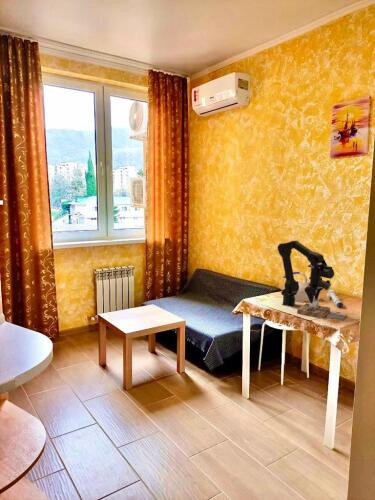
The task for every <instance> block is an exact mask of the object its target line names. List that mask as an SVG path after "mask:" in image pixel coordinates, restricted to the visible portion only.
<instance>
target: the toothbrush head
mask: <svg viewBox="0 0 375 500" xmlns="http://www.w3.org/2000/svg"><path fill="white" fill-rule="evenodd" d="M327 291H328V292H327V293H326V299H328V300H332V301H333V303H334V305H335V306H336V307H337V309H342V308H343V307H344V304H343V301H342V300H341V299H340V298H339V297H338V296H337V294H336V293H335V291H334V289H330V288H329V289H328V290H327Z"/></svg>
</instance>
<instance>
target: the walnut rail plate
mask: <svg viewBox="0 0 375 500" xmlns="http://www.w3.org/2000/svg"><path fill="white" fill-rule="evenodd" d="M330 309H331V307H329V306H322V305H319V308H318V310H317V311H315V312H311V311H309V303H305V304H303V305H302V306H300V307H299V308H297V312H296V314H299V315H301V316H302V315H303V316H308V317H313V318H318V319H323V318H324V317H325V316H327V315H328V314H329V313H331V312H330V311H331V310H330Z"/></svg>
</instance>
